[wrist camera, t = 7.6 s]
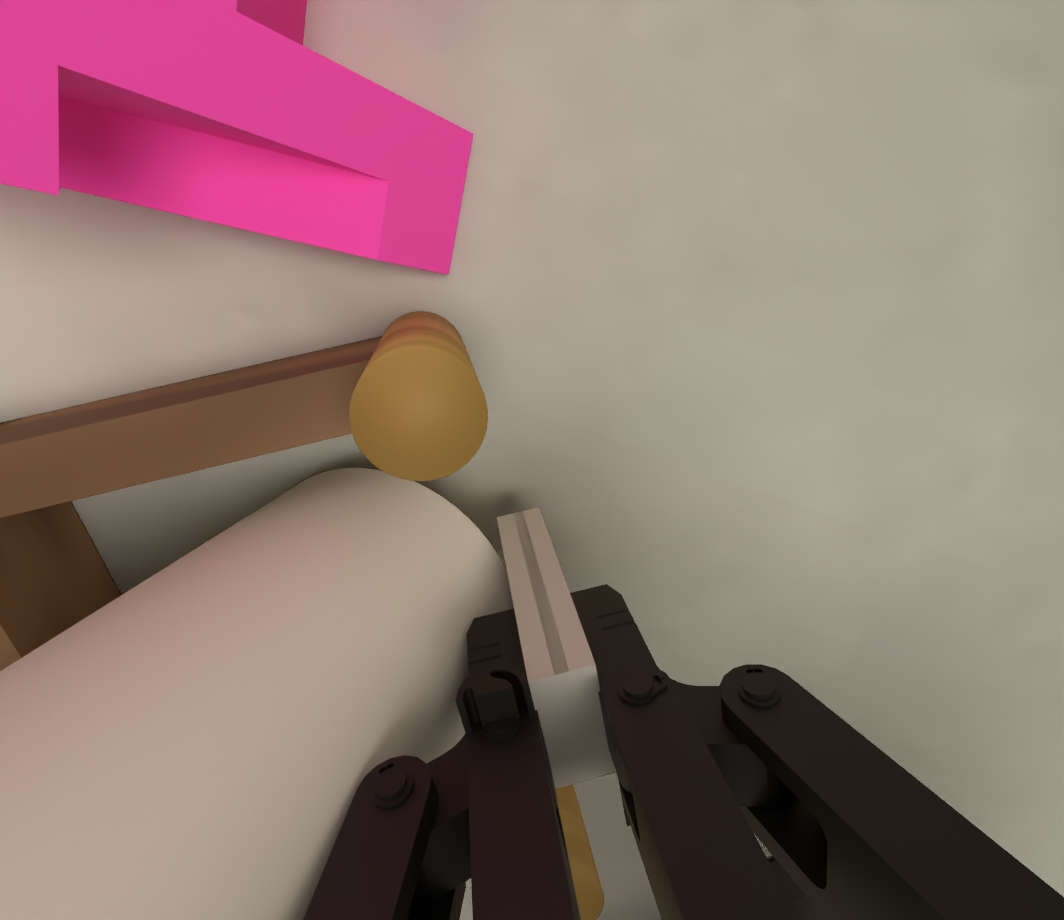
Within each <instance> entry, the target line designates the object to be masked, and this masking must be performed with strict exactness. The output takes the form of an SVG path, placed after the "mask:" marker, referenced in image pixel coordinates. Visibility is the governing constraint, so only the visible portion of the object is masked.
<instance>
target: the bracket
mask: <svg viewBox="0 0 1064 920" xmlns="http://www.w3.org/2000/svg"><path fill="white" fill-rule="evenodd" d="M306 5H307V0H0V183H1V184H6V185H10V186H15V187H20V188H25V189H30V190H35V191H40V192H45V193H50V194H55V195H59V187H61V188H66V189H70V190H74V191H79V192H83V193H87V194H92V195H96V196H100V197H105V198H109V199H113V200H118V201H122V202H127V203H131V204H135V205H140V206H144V207H148V208H153V209H157V210H161V211H166V212H170V213H174V214H179V215H183V216H187V217H192V218H196V219H201V220H205V221H209V222H214V223H218V224H222V225H227V226H231V227H235V228H240V229H244V230H248V231H253V232H257V233H261V234H266V235H270V236H275V237H279V238H283V239H288V240H292V241H296V242H301V243H305V244H309V245H314V246H318V247H322V248H327V249H331V250H336V251H340V252H344V253H349V254H353V255H357V256H362V257H366V258H370V259H375V260H379V261H384V262H389V263H394V264H399V265H404V266H409V267H414V268H419V269H423V270H428V271H433V272H438V273H443V274H449V268H450V263H451V257H452V251H453V246H454V240H455V234H456V228H457V223H458V217H459V211H460V206H461V200H462V194H463V189H464V183H465V177H466V172H467V166H468V160H469V155H470V149H471V143H472V137H473V133H471V132H469V131H467V130H465V129H463V128H461V127H459V126H457V125H455V124H453V123H451V122H449V121H447V120H446V119H444V118H442V117H440V116H438V115H436V114H434V113H432V112H430V111H428V110H426V109H424V108H422V107H420V106H418V105H416V104H415V103H413V102H411V101H409V100H407V99H405V98H403V97H401V96H399V95H397V94H395V93H393V92H391V91H389V90H387V89H386V88H384V87H382V86H380V85H378V84H376V83H374V82H372V81H370V80H368V79H366V78H364V77H362V76H360V75H358V74H357V73H355V72H353V71H351V70H349V69H347V68H345V67H343V66H341V65H339V64H337V63H335V62H333V61H331V60H329V59H328V58H326V57H324V56H322V55H320V54H318V53H316V52H314V51H312V50H310V49H308V48H306V47H304V46H303V36H304V26H305V16H306Z"/></svg>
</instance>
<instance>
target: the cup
mask: <svg viewBox="0 0 1064 920" xmlns="http://www.w3.org/2000/svg"><path fill="white" fill-rule="evenodd" d="M510 609H514V605H513V600H512V595H511V590H510V585H509V579H508V574H507V571H506V569H505V567H504V565H503V563H502V561H501V559H500V558H499V556H498V554H497V552H496V551H495V550H494V548H493V547H492V545H491V544H490V542H489V541H488V539H487V538H486V537H485V536H484V535H483V533H482V532H481V531H480V530H479V528H478V527H477V526H476V525H475V524H474V523H473V522H472V521H471V520H470V519H469V518H468V517H467V516H466V515H465V514H463V513H462V512H461V511H460V510H459V509H458V508H457V507H455V506H454V505H453V504H451V503H450V502H449V501H447V500H446V499H445V498H443V497H442V496H440V495H439V494H437V493H435V492H434V491H432V490H431V489H429V488H427V487H425V486H423V485H421V484H419V483H417V482H415V481H410V480H404V479H400V478H397V477H394V476H392V475H389V474H387V473H385V472H384V471H380V470H375V469H367V468H343V469H335V470H330V471H326V472H323V473H320V474H317V475H314V476H312V477H310V478H308V479H306V480H304V481H302V482H301V483H299V484H298V485H296V486H294V487H293V488H291V489H290V490H288V491H287V492H285V493H283V494H282V495H280V496H279V497H277V498H275V499H274V500H272V501H271V502H269V503H267V504H266V505H264V506H263V507H261V508H259V509H258V510H256V511H255V512H253V513H252V514H250V515H248V516H247V517H245V518H244V519H242V520H240V521H239V522H237V523H236V524H234V525H232V526H231V527H229V528H228V529H226V530H224V531H223V532H221V533H220V534H218V535H216V536H215V537H213V538H212V539H210V540H209V541H207V542H205V543H204V544H202V545H201V546H199V547H197V548H196V549H194V550H193V551H191V552H189V553H188V554H186V555H185V556H183V557H181V558H180V559H178V560H177V561H175V562H173V563H172V564H170V565H169V566H167V567H166V568H164V569H162V570H161V571H159V572H158V573H156V574H154V575H153V576H151V577H150V578H148V579H146V580H145V581H143V582H142V583H140V584H138V585H137V586H135V587H134V588H132V589H131V590H129V591H127V592H126V593H124V594H123V595H121V596H119V597H118V598H116V599H115V600H113V601H111V602H110V603H108V604H107V605H105V606H103V607H102V608H100V609H99V610H97V611H95V612H94V613H92V614H91V615H89V616H88V617H86V618H84V619H83V620H81V621H80V622H78V623H76V624H75V625H73V626H72V627H70V628H68V629H67V630H65V631H64V632H62V633H60V634H59V635H57V636H56V637H54V638H52V639H51V640H49V641H48V642H46V643H45V644H43V645H41V646H40V647H38V648H37V649H35V650H33V651H32V652H30V653H29V654H27V655H25V656H24V657H22V658H21V659H19V660H17V661H16V662H14V663H13V664H11V665H10V666H8V667H6V668H5V669H3V670H2V671H0V920H303V919H304V916H305V914H306V911H307V909H308V907H309V904H310V902H311V899H312V897H313V894H314V892H315V890H316V887H317V885H318V882H319V880H320V877H321V875H322V873H323V870H324V868H325V865H326V863H327V860H328V858H329V856H330V853H331V851H332V848H333V846H334V843H335V841H336V838H337V836H338V834H339V831H340V829H341V826H342V824H343V821H344V819H345V817H346V814H347V812H348V809H349V807H350V804H351V802H352V800H353V797H354V795H355V792H356V790H357V788H358V787H359V785H360V783H361V782H362V780H363V778H364V777H365V776H366V775H367V774H368V773H369V772H370V771H371V770H372V769H373V768H374V767H376V766H377V765H379V764H380V763H382V762H384V761H386V760H388V759H390V758H393V757H398V756H403V755H407V756H414V757H418V758H419V759H421V760H422V761H424V762H425V763H426V764H427V763H428V762H430V761H432V760H434V759H435V758H437V757H439V756H441V755H443V754H444V753H446V752H447V751H449V750H450V749H452V748H453V747H454V746H455V745H456V744H457V743H458V742H459V741H460V740H461V739H462V737H463V736H464V734H465V730H464V727H463V724H462V720H461V717H460V714H459V711H458V707H457V704H456V701H455V700H456V696H457V692H458V689H459V688H460V686H461V685H462V683H463V682H464V681H465V679H467V678H468V677H469V669H468V666H469V664H468V650H467V635H466V634H467V632H468V630H469V628H470V626H471V624H472V622H473V620H474V618H477V617H481V616H485V615H489V614H494V613H498V612H502V611H506V610H510Z"/></svg>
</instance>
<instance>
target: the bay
mask: <svg viewBox="0 0 1064 920" xmlns="http://www.w3.org/2000/svg"><path fill="white" fill-rule="evenodd" d="M487 421H488V410H487V404H486V400H485V397H484V393H483V391H482V388H481V386H480V383H479V381H478V378H477V376H476V373H475V371H474V368H473V366H472V363H471V361H470V358H469V356H468V353H467V351H466V348H465V346H464V343H463V341H462V339H461V336H460V334H459V333H458V331H457V330H456V328H455V327H454V326H453V325H452V324H451V323H450V322H449V321H447V320H446V319H445V318H443V317H441V316H439V315H437V314H434V313H430V312H423V311H420V312H411V313H408V314H405V315H403V316H401V317H399V318H398V319H396V320H395V321H394V322H392V323H391V325H390V326H389V327H388V328H387V330H386V331H385V333H384V335H383V336H380V337H376V338H371V339H367V340H363V341H358V342H354V343H349V344H345V345H341V346H336V347H332V348H327V349H323V350H319V351H314V352H310V353H305V354H301V355H297V356H292V357H288V358H283V359H279V360H275V361H270V362H266V363H262V364H257V365H253V366H248V367H244V368H240V369H235V370H231V371H226V372H222V373H218V374H213V375H209V376H204V377H200V378H196V379H191V380H187V381H182V382H178V383H174V384H169V385H165V386H160V387H156V388H152V389H147V390H143V391H138V392H134V393H130V394H125V395H121V396H116V397H112V398H108V399H103V400H99V401H94V402H90V403H86V404H81V405H77V406H72V407H68V408H64V409H59V410H55V411H50V412H46V413H42V414H37V415H33V416H28V417H24V418H20V419H15V420H11V421H6V422H2V423H0V671H2V670H3V669H5V668H6V667H8V666H10V665H11V664H13V663H14V662H16V661H17V660H19V659H21V658H22V657H24V656H25V655H27V654H29V653H30V652H32V651H33V650H35V649H37V648H38V647H40V646H41V645H43V644H45V643H46V642H48V641H49V640H51V639H52V638H54V637H56V636H57V635H59V634H60V633H62V632H64V631H65V630H67V629H68V628H70V627H72V626H73V625H75V624H76V623H78V622H80V621H81V620H83V619H84V618H86V617H88V616H89V615H91V614H92V613H94V612H95V611H97V610H99V609H100V608H102V607H103V606H105V605H107V604H108V603H110V602H111V601H113V600H115V599H116V598H118V597H119V596H121V595H120V593H119V591H118V589H117V587H116V586H115V584H114V582H113V580H112V578H111V576H110V574H109V573H108V571H107V569H106V567H105V565H104V563H103V561H102V559H101V558H100V556H99V554H98V552H97V550H96V548H95V546H94V545H93V543H92V541H91V539H90V537H89V535H88V533H87V531H86V530H85V528H84V526H83V524H82V522H81V520H80V518H79V517H78V515H77V513H76V511H75V509H74V507H73V505H72V503H71V502H70V501H73V500H77V499H81V498H85V497H89V496H93V495H98V494H102V493H106V492H110V491H114V490H118V489H123V488H127V487H131V486H135V485H139V484H143V483H147V482H152V481H156V480H160V479H164V478H168V477H172V476H177V475H181V474H185V473H189V472H193V471H197V470H201V469H206V468H210V467H214V466H218V465H222V464H226V463H231V462H235V461H239V460H243V459H247V458H251V457H255V456H260V455H264V454H268V453H272V452H276V451H280V450H285V449H289V448H293V447H297V446H301V445H305V444H309V443H314V442H318V441H322V440H326V439H330V438H334V437H339V436H343V435H347V434H351V433H352V434H353V437H354V439H355V442H356V443H357V445H358V447H359V449H360V450H361V452H362V453H363V454H364V456H365V457H366V458H367V459H368V460H369V461H370V462H371V463H372V464H373V465H375V466H376V467H377V468H379V469H380V470H382V471H384V472H385V473H387V474H389V475H392V476H394V477H397V478H400V479H404V480H410V481H430V480H435V479H439V478H442V477H445V476H448V475H450V474H452V473H454V472H456V471H457V470H459V469H460V468H462V467H463V466H464V465H465V464H467V463H468V462H469V461H470V460H471V459H472V457H473V456H474V455H475V454H476V452H477V451H478V449H479V447H480V446H481V444H482V441H483V439H484V436H485V433H486V429H487ZM555 790H556V795H557V804H558V808H559V812H560V816H561V821H562V826H563V831H564V837H565V842H566V847H567V852H568V857H569V862H570V867H571V872H572V878H573V883H574V888H575V893H576V898H577V903H578V908H579V913H580V918H581V920H596V919H597V918H598V916H599V915H600V913H601V911H602V909H603V905H604V896H603V892H602V888H601V884H600V881H599V877H598V874H597V870H596V866H595V863H594V859H593V855H592V852H591V848H590V844H589V841H588V837H587V833H586V830H585V826H584V822H583V819H582V815H581V812H580V808H579V804H578V801H577V797H576V793H575V790H574V786H573V784H572V785H568V786H564V787H560V788H556V789H555Z"/></svg>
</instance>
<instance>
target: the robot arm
mask: <svg viewBox="0 0 1064 920" xmlns="http://www.w3.org/2000/svg"><path fill="white" fill-rule="evenodd" d="M497 522H498V527H499V532H500V537H501V543H502V548H503V553H504V558H505V564H506V569H507V574H508V579H509V585H510V590H511V595H512V600H513V605H514V609H510V610H506V611H502V612H498V613H494V614H489V615H485V616H481V617H477V618H474V620H473V622H472V624H471V626H470V628H469V630H468V632H467V634H466V635H467V650H468V664H469V666H468V669H469V677H468V678H467V679H465V681H464V682H463V683H462V685H461V686H460V688H459V689H458V692H457V696H456V700H455V701H456V704H457V707H458V711H459V714H460V717H461V720H462V724H463V727H464V730H465V734H464V736H463V737H462V739H461V740H460V741H459V742H458V743H457V744H456V745H455V746H454V747H453V748H452V749H450V750H449V751H447V752H446V753H444V754H443V755H441V756H439V757H437V758H435V759H434V760H432V761H430V762H428V763H427V764H426V763H425V762H424V761H422V760H421V759H419V758H418V757H414V756H407V755H403V756H398V757H393V758H390V759H388V760H386V761H384V762H382V763H380V764H379V765H377V766H376V767H374V768H373V769H372V770H371V771H370V772H369V773H368V774H367V775H366V776H365V777H364V778H363V780H362V782H361V783H360V785H359V787H358V788H357V790H356V792H355V795H354V797H353V800H352V802H351V804H350V807H349V809H348V812H347V814H346V817H345V819H344V821H343V824H342V826H341V829H340V831H339V834H338V836H337V838H336V841H335V843H334V846H333V848H332V851H331V853H330V856H329V858H328V860H327V863H326V865H325V868H324V870H323V873H322V875H321V877H320V880H319V882H318V885H317V887H316V890H315V892H314V894H313V897H312V899H311V902H310V904H309V907H308V909H307V911H306V914H305V916H304V919H303V920H459V918H460V913H461V908H462V903H463V898H464V892H465V882H466V881H467V880H468V879H470V878H471V879H472V905H473V920H581V918H580V913H579V908H578V903H577V898H576V893H575V888H574V883H573V878H572V872H571V867H570V862H569V857H568V852H567V847H566V842H565V837H564V831H563V826H562V821H561V816H560V812H559V808H558V804H557V795H556V790H555V789H556V788H560V787H564V786H568V785H572V784H575V783H579V782H583V781H587V780H590V779H593V778H597V777H600V776H604V775H608V774H612V773H615V770H616V773H617V776H618V779H619V785H620V790H621V796H622V802H623V807H624V813H625V818H626V824H627V826H630V825H631V827H632V830H633V833H634V836H635V839H636V842H637V845H638V849H639V852H640V855H641V858H642V861H643V864H644V867H645V870H646V873H647V876H648V879H649V882H650V885H651V888H652V891H653V894H654V897H655V900H656V903H657V906H658V909H659V912H660V915H661V918H662V920H1064V897H1063V896H1062V895H1060V894H1059V893H1058V892H1057V891H1055V890H1054V889H1053V888H1052V887H1050V886H1049V885H1048V884H1047V883H1045V882H1044V881H1043V880H1042V879H1040V878H1039V877H1038V876H1037V875H1035V874H1034V873H1033V872H1032V871H1030V870H1029V869H1028V868H1027V867H1025V866H1024V865H1023V864H1022V863H1020V862H1019V861H1018V860H1017V859H1015V858H1014V857H1013V856H1012V855H1011V854H1009V853H1008V852H1007V851H1006V850H1004V849H1003V848H1002V847H1001V846H999V845H998V844H997V843H996V842H994V841H993V840H992V839H991V838H989V837H988V836H987V835H986V834H984V833H983V832H982V831H981V830H979V829H978V828H977V827H976V826H974V825H973V824H972V823H971V822H969V821H968V820H967V819H966V818H964V817H963V816H962V815H961V814H960V813H958V812H957V811H956V810H955V809H953V808H952V807H951V806H950V805H948V804H947V803H946V802H945V801H943V800H942V799H941V798H940V797H938V796H937V795H936V794H935V793H933V792H932V791H931V790H930V789H928V788H927V787H926V786H925V785H923V784H922V783H921V782H920V781H918V780H917V779H916V778H915V777H914V776H912V775H911V774H910V773H909V772H907V771H906V770H905V769H904V768H902V767H901V766H900V765H899V764H897V763H896V762H895V761H894V760H892V759H891V758H890V757H889V756H887V755H886V754H885V753H884V752H882V751H881V750H880V749H879V748H877V747H876V746H875V745H874V744H872V743H871V742H870V741H869V740H867V739H866V738H865V737H864V736H863V735H861V734H860V733H859V732H858V731H856V730H855V729H854V728H853V727H851V726H850V725H849V724H848V723H846V722H845V721H844V720H843V719H841V718H840V717H839V716H838V715H836V714H835V713H834V712H833V711H831V710H830V709H829V708H828V707H826V706H825V705H824V704H823V703H821V702H820V701H819V700H818V699H816V698H815V697H814V696H813V695H812V694H810V693H809V692H808V691H807V690H805V689H804V688H803V687H802V686H800V685H799V684H798V683H797V682H795V681H794V680H793V679H792V678H790V677H789V676H788V675H786V674H784V673H783V672H781V671H779V670H777V669H776V668H772V667H768V666H764V665H743V666H740V667H737V668H733V669H732V670H731V671H729V672H728V673H727V674H726V675H724V677H723V679H722V681H721V684H720V686H693V685H686V684H682V683H679V682H676V681H674V680H672V679H670V678H669V677H668V675H667V674H666V673H665V672H663V671H661V670H660V669H659V668H658V667H657V665H656V663H655V661H654V659H653V657H652V655H651V653H650V651H649V649H648V647H647V645H646V643H645V641H644V639H643V637H642V635H641V633H640V631H639V629H638V627H637V625H636V623H634V619H633V617H632V615H631V613H630V611H629V610H628V607H627V605H626V603H625V601H624V599H623V597H622V595H621V594H620V593H618V592H617V591H615V590H614V589H613V588H611V587H610V586H608V585H607V584H606V585H602V586H597V587H593V588H589V589H585V590H581V591H577V592H573V593H570V592H569V589H568V586H567V584H566V581H565V578H564V575H563V572H562V570H561V567H560V564H559V561H558V558H557V556H556V553H555V550H554V547H553V545H552V542H551V539H550V536H549V533H548V531H547V528H546V525H545V522H544V519H543V517H542V514H541V511H540V508H539V507H537V508H533V509H529V510H525V511H520V512H516V513H512V514H508V515H504V516H499V517H497ZM614 767H615V769H614ZM752 831H753V832H754V833H755V835H756V836H757V837H758V838H759V839H760V841H761V842H762V843H763V844H764V845H765V847H766V848H767V849H768V850H769V851H770V853H771V854H772V855H773V856H774V857H775V859H776V860H775V861H773V862H771V863H769V862H768V860H767V858H766V856H765V854H764V852H763V850H762V849H761V847H760V845H759V843H758V841H757V839H756V837H755V835H754V833H753V832H752Z"/></svg>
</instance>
